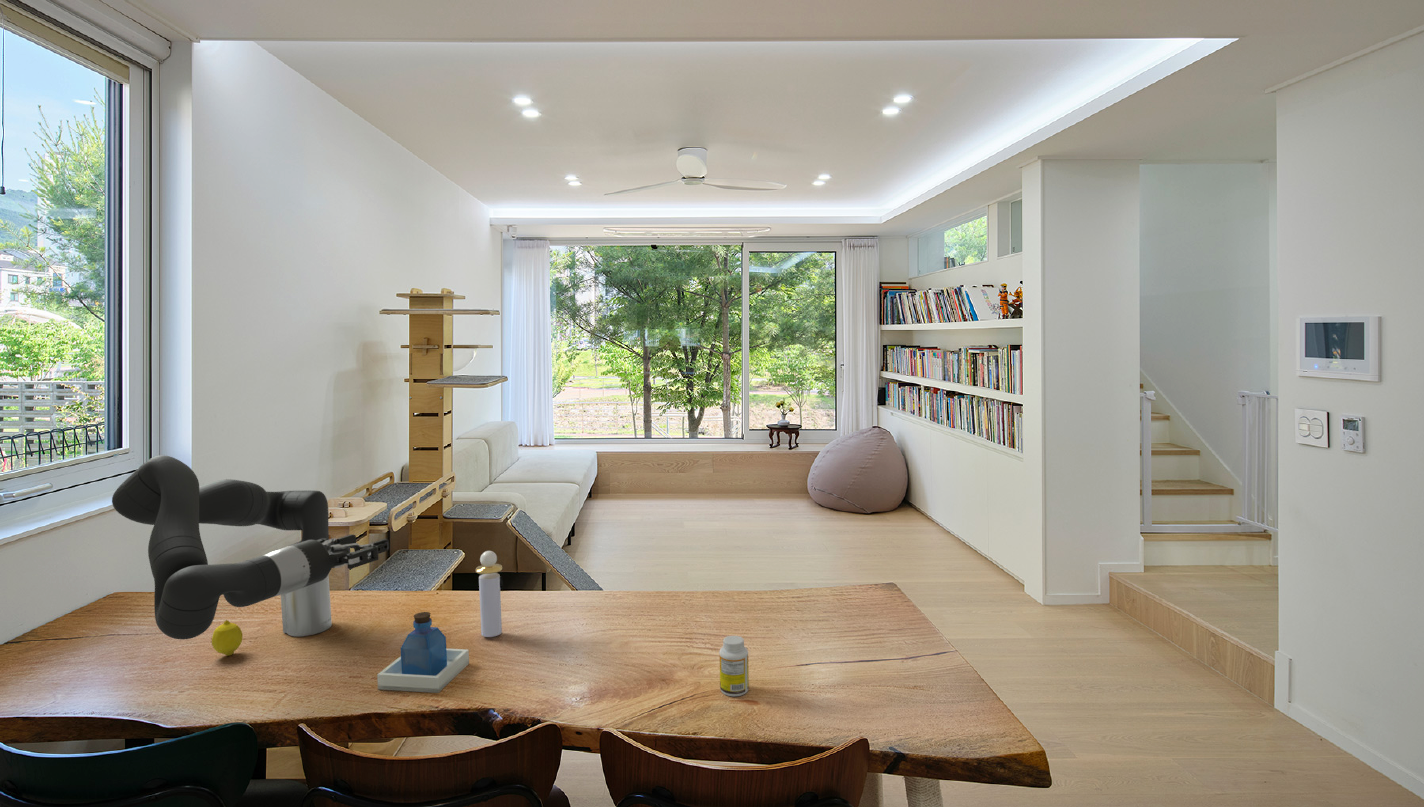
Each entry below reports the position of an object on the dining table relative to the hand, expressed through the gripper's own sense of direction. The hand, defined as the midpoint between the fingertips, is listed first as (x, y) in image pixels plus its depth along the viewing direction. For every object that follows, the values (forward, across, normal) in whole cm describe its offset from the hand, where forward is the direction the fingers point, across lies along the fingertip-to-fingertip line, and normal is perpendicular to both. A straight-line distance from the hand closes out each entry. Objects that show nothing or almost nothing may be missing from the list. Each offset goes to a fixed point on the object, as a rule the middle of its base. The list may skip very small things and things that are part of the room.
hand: (370, 541), depth 136 cm
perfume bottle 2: (+29, -3, +30) cm, 42 cm away
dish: (+8, -4, +30) cm, 31 cm away
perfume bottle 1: (+8, -4, +29) cm, 31 cm away
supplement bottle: (+25, -64, +30) cm, 75 cm away
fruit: (0, +44, +30) cm, 53 cm away
